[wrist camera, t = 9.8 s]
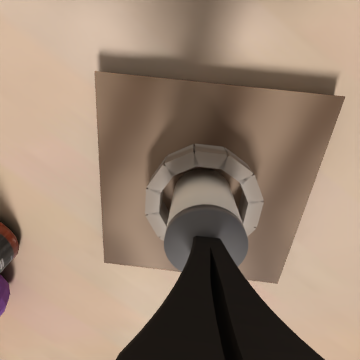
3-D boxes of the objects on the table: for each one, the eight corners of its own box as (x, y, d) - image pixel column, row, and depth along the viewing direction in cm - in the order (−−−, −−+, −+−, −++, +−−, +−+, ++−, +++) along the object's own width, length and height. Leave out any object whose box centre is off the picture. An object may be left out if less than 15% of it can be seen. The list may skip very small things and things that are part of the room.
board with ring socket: (334, 96, 15) (368, 97, 12) (273, 273, 21) (285, 303, 18) (102, 72, 15) (79, 68, 12) (109, 253, 21) (95, 279, 18)
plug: (235, 171, 16) (256, 214, 11) (226, 221, 18) (240, 281, 12) (175, 165, 16) (165, 206, 11) (172, 216, 18) (162, 274, 12)
